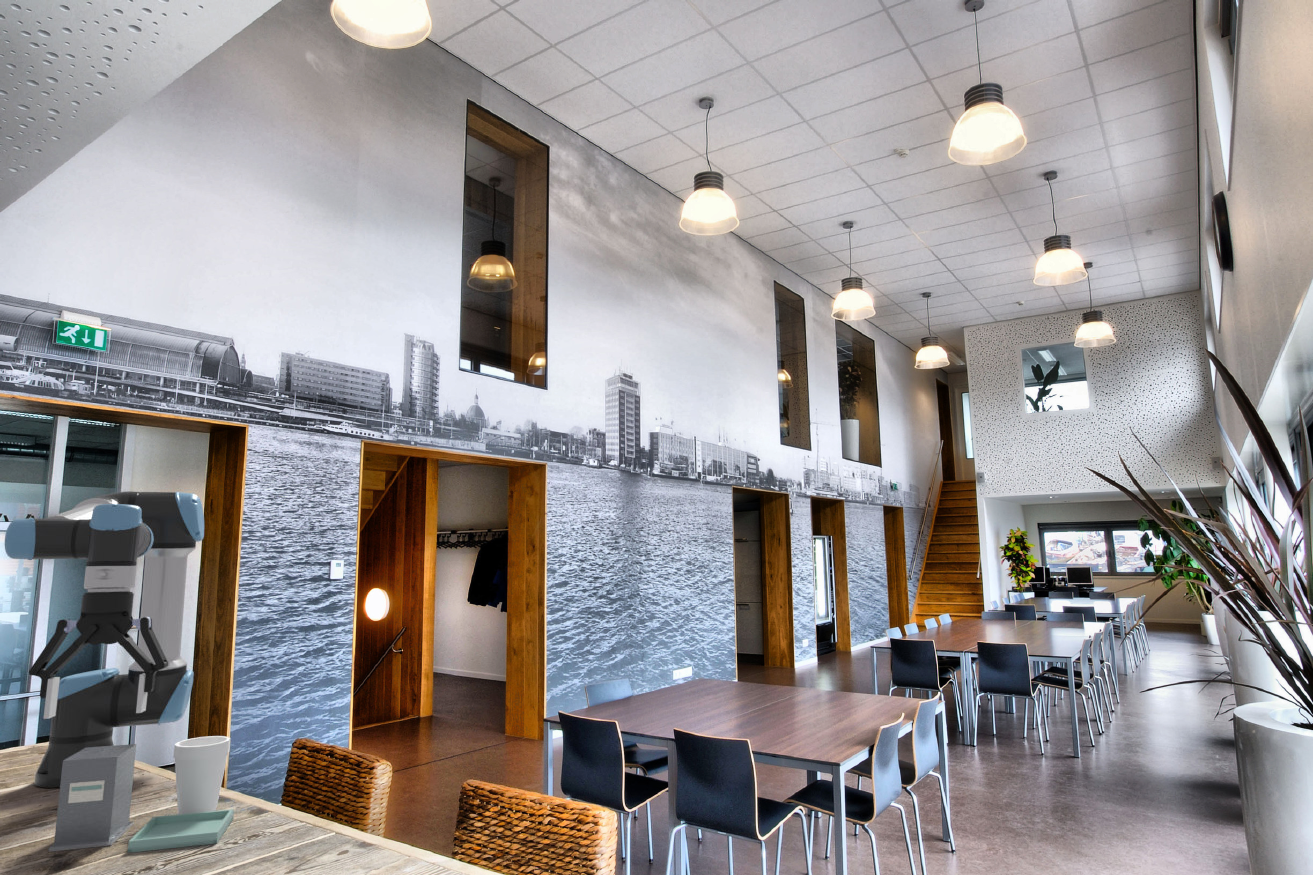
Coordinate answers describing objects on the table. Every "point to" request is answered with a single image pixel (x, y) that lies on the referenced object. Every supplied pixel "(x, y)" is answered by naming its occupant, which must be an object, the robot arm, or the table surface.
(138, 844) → the tray
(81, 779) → the unit
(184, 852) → the table surface
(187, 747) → the foam cup
